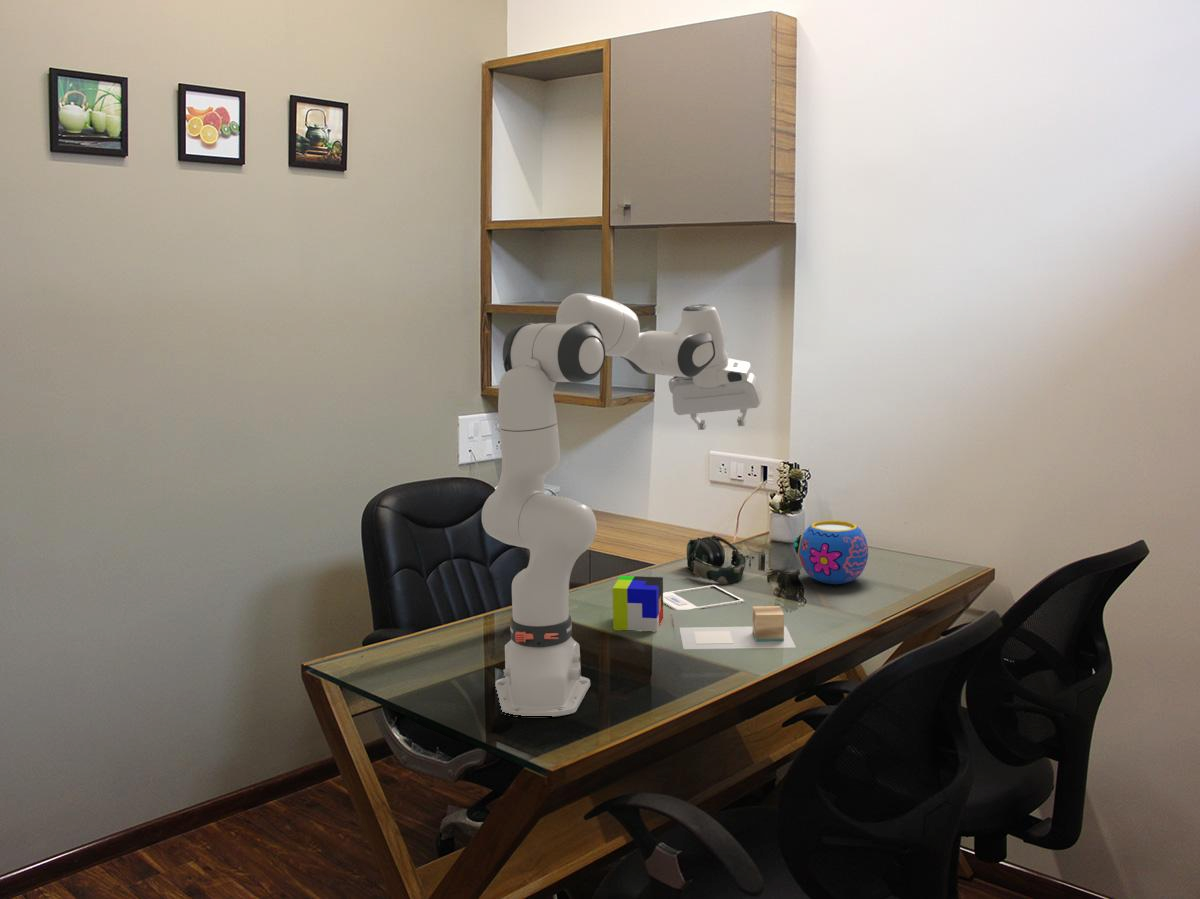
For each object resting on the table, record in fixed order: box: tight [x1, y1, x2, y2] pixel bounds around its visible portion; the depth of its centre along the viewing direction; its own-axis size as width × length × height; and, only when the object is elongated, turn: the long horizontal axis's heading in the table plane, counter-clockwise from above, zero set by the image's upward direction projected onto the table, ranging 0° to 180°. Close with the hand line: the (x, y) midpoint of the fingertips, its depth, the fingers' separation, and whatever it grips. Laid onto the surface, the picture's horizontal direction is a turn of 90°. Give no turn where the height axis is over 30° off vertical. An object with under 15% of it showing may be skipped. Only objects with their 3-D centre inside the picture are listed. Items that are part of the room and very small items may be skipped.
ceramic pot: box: [793, 520, 869, 585], centre depth 283 cm, size 18×18×15 cm
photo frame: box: [663, 584, 745, 611], centre depth 272 cm, size 15×1×18 cm
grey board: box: [678, 625, 797, 650], centre depth 241 cm, size 14×24×1 cm, turn 90°
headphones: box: [686, 534, 747, 585], centre depth 292 cm, size 13×13×20 cm
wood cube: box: [752, 605, 785, 642], centre depth 241 cm, size 6×6×6 cm
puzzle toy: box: [612, 575, 664, 632], centre depth 254 cm, size 10×10×10 cm
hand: (722, 427), depth 254 cm, fingers open, 8 cm apart
